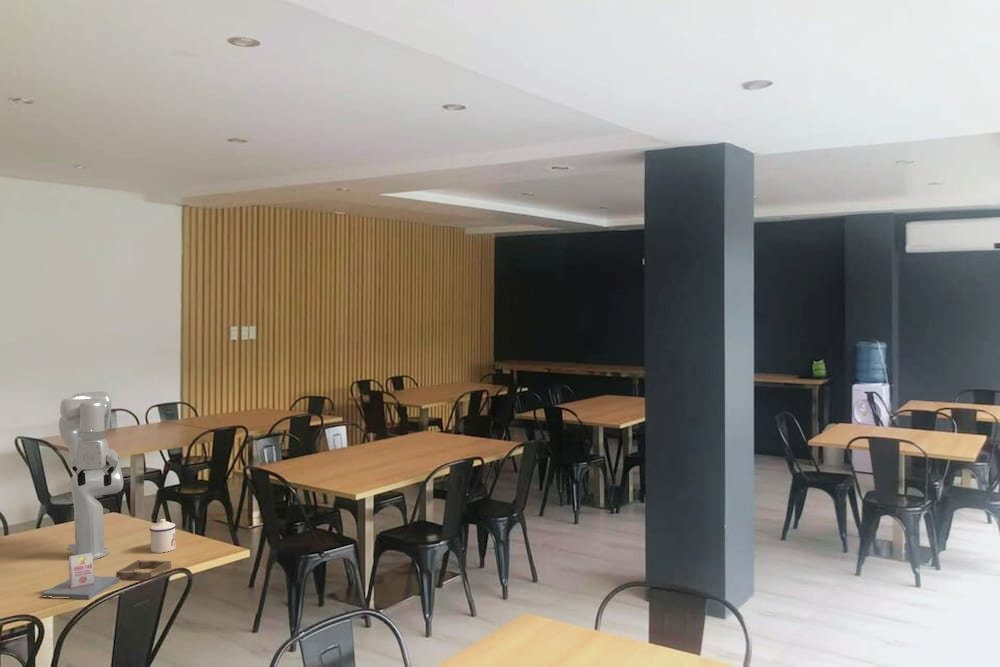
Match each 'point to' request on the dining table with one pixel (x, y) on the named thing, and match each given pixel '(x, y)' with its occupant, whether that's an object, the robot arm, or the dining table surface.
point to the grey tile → (82, 588)
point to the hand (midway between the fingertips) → (94, 485)
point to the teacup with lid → (163, 536)
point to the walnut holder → (130, 571)
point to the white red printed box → (81, 570)
